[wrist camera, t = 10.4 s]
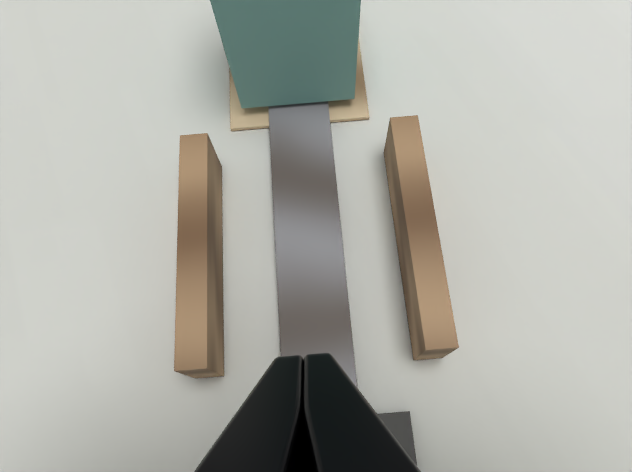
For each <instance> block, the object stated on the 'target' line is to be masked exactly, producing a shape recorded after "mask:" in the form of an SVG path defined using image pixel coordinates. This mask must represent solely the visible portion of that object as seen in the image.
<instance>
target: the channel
mask: <svg viewBox="0 0 632 472" xmlns="http://www.w3.org/2000/svg"><path fill="white" fill-rule="evenodd" d="M229 74H230V129H231V131H237V130H249V129H261V128H270V148H271V168H272V187H273V207H274V227H275V247H276V266H277V286H278V306H279V325H280V345H281V356H292V355H300V356H302V357H303V360H304V357H305V356H306V355H307V354H317V353H330V354H331V355H332V356H333V357H334V358H335V359H336V361H337V362H338V363H339V365H340V366H341V367H342V369H343V370H344V371H345V373H346V374H347V375H348V377H349V378H350V379H351V380H352V382H353V383H354V384H355V386H356V387H357V380H356V370H355V361H354V351H353V341H352V331H351V321H350V312H349V302H348V292H347V282H346V272H345V263H344V253H343V243H342V233H341V223H340V214H339V204H338V194H337V184H336V175H335V165H334V155H333V145H332V135H331V126H330V123H332V122H343V121H355V120H367V119H369V112H368V104H367V97H366V89H365V82H364V75H363V67H362V60H361V53H360V45H359V38H358V51H357V67H356V83H355V99H348V100H336V101H324V102H312V103H301V104H289V105H277V106H265V107H254V108H241V105H240V101H239V98H238V94H237V91H236V87H235V84H234V81H233V77H232V74H231V70H230V67H229ZM384 158H385V165H386V172H387V179H388V186H389V193H390V200H391V207H392V214H393V221H394V227H395V234H396V241H397V248H398V255H399V262H400V269H401V276H402V283H403V290H404V297H405V304H406V311H407V318H408V325H409V332H410V339H411V346H412V353H413V360H424V359H436V358H443V357H444V356H446V355H448V354H449V353H451V352H452V351H454V350H455V349H457V348H459V346H458V340H457V335H456V329H455V323H454V318H453V312H452V307H451V301H450V295H449V290H448V284H447V278H446V273H445V267H444V261H443V256H442V250H441V244H440V239H439V233H438V227H437V222H436V216H435V210H434V205H433V199H432V194H431V188H430V182H429V177H428V171H427V165H426V160H425V154H424V148H423V143H422V137H421V131H420V126H419V120H418V115H416V116H404V117H392V118H390V121H389V127H388V132H387V138H386V143H385V149H384ZM174 371H176V372H179V373H181V374H184V375H187V376H190V377H193V378H206V377H218V376H224V333H223V236H222V166H221V164H220V161H219V159H218V157H217V154H216V152H215V150H214V147H213V145H212V143H211V141H210V138H209V136H208V134H207V133H204V134H192V135H181V136H180V154H179V195H178V236H177V277H176V319H175V360H174ZM377 415H378V416H379V417H380V419H381V420H382V421H383V423H384V424H385V425H386V426H387V428H388V429H389V430H390V432H391V433H392V434H393V436H394V437H395V438H396V440H397V441H398V442H399V444H400V445H401V446H402V448H403V449H404V450H405V451H406V453H407V454H408V455H409V457H410V458H411V459H412V461H413V462H414V463H415V465H416V466H417V462H416V455H415V448H414V440H413V433H412V426H411V418H410V411H408V412H396V413H384V414H377Z"/></svg>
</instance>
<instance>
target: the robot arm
mask: <svg viewBox="0 0 632 472" xmlns="http://www.w3.org/2000/svg"><path fill="white" fill-rule="evenodd" d="M194 472H421V471H420V470H419V469H418V467H417V466H416V465H415V463H414V462H413V461H412V459H411V458H410V457H409V455H408V454H407V453H406V451H405V450H404V449H403V448H402V446H401V445H400V444H399V442H398V441H397V440H396V438H395V437H394V436H393V434H392V433H391V432H390V430H389V429H388V428H387V426H386V425H385V424H384V423H383V421H382V420H381V419H380V417H379V416H378V415H377V413H376V412H375V411H374V409H373V408H372V407H371V405H370V404H369V403H368V402H367V400H366V399H365V398H364V396H363V395H362V394H361V392H360V391H359V390H358V388H357V387H356V386H355V384H354V383H353V382H352V380H351V379H350V378H349V377H348V375H347V374H346V373H345V371H344V370H343V369H342V367H341V366H340V365H339V363H338V362H337V361H336V359H335V358H334V357H333V356H332V355H331V354H330V353H317V354H307V355H306V356H305V357H304V360H303V357H302V356H300V355H292V356H280V357H277V358H276V359H275V360H274V361H273V362H272V364H271V365H270V366H269V368H268V369H267V371H266V372H265V373H264V375H263V376H262V378H261V379H260V380H259V382H258V383H257V385H256V386H255V387H254V389H253V390H252V392H251V393H250V394H249V396H248V397H247V399H246V400H245V401H244V403H243V404H242V406H241V407H240V408H239V410H238V411H237V413H236V414H235V415H234V417H233V418H232V420H231V421H230V422H229V424H228V425H227V427H226V428H225V429H224V431H223V432H222V434H221V435H220V436H219V438H218V439H217V441H216V442H215V443H214V445H213V446H212V448H211V449H210V450H209V452H208V453H207V455H206V456H205V457H204V459H203V460H202V462H201V463H200V464H199V466H198V467H197V469H196V470H195V471H194Z"/></svg>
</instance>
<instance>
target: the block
mask: <svg viewBox="0 0 632 472" xmlns="http://www.w3.org/2000/svg"><path fill="white" fill-rule="evenodd" d="M210 2H211V5H212V8H213V12H214V15H215V19H216V22H217V26H218V29H219V32H220V36H221V39H222V43H223V46H224V50H225V53H226V57H227V60H228V63H229V67H230V70H231V74H232V77H233V81H234V84H235V87H236V91H237V94H238V98H239V101H240V105H241V108H254V107H265V106H277V105H289V104H301V103H312V102H324V101H336V100H348V99H355V83H356V67H357V51H358V35H359V19H360V3H361V0H210Z"/></svg>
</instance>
